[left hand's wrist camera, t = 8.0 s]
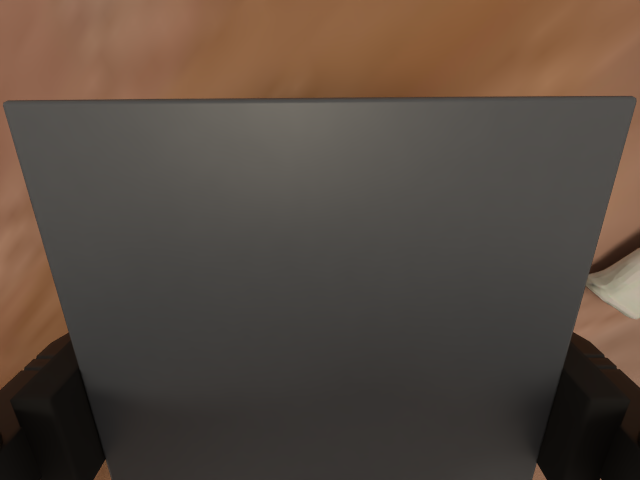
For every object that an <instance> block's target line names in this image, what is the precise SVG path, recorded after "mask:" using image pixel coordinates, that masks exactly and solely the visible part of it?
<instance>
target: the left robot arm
mask: <svg viewBox="0 0 640 480" xmlns="http://www.w3.org/2000/svg"><path fill="white" fill-rule="evenodd" d="M616 367H617V366H616V365H614V364H613V363H612V362H611V361H610V360H609V359H608V358H605V357H604V354H603V353H601V352H600V351H599V350H598V349H597V348H596V347H595V346H594V345H593V344H592V343H591V342H589V341H588V340H586V339H584V338H582V337H581V336H579V335H577V334H576V333H574V332H573V333H572V337H571V340H570V344H569V347H568V351H567V355H566V358H565V362H564V366H563V369H562V373H561V376H560V380H559V384H558V387H557V391H556V395H555V398H554V402H553V405H552V409H551V413H550V416H549V420H548V424H547V427H546V431H545V434H544V438H543V441H542V445H541V449H540V452H539V456H538V459H537V464H538V465H539V467H540V469H541V471H542V472H543V474H544V476H545V477H546V479H547V480H600V478H601V479H602V480H640V388H639V387H638V386H637V385H636V384H635V383H634V382H633V381H632V380H631V379H630V378H629V377H627V376H626V375H625V374H624V373H623V372H622V371H621V370H620V369H617V368H616ZM105 459H106V458H105V455H104V452H103V448H102V445H101V441H100V438H99V434H98V431H97V427H96V424H95V421H94V417H93V414H92V410H91V407H90V403H89V400H88V396H87V393H86V390H85V386H84V383H83V379H82V376H81V372H80V369H79V365H78V362H77V359H76V355H75V352H74V348H73V345H72V341H71V338H70V334H69V333H67V334H66V335H64V336H62V337H60V338H59V339H57V340H55V341H54V342H52V343H50V344H49V345H48V346H47V347H46V348H45V349H44V350H43V351H42V352H41V353H40V354H39V355H38V356H37V358H36V359H33V360H32V361H31V362H30V363H29V364H28V365H27V366H26V367H25V368H24V371H20V372H19V373H18V374H17V375H16V376H15V377H14V378H13V379H12V380H11V381H10V382H8V383H7V384H6V385H5V386H4V387H3V388H2V389H1V390H0V480H40V479H41V480H94V478H95V476H96V474H97V473H98V471H99V469H100V468H101V466H102V464H103V463H104V461H105Z"/></svg>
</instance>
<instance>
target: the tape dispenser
mask: <svg viewBox="0 0 640 480" xmlns="http://www.w3.org/2000/svg"><path fill="white" fill-rule="evenodd" d="M586 287H588V288H589V289H590V290H591V291H592V292H593V293H595V294H596V295H597V296H598V297H599V298H601V299H602V300H603V301H604V302H606V303H607V304H609V305H611V306H613V307H614V308H616V309H617V310H618V311H620V312H621V313H622V314H624V315H625V316H627V317H629V318H632V319H638V318H640V248H638V249H636V250H635V251H633V252H632V253H630V254H629V255H627V256H626V257H624V258H623V259H621V260H619V261H618V262H616V263H615V264H613V265H612V266H610V267H608V268H606V269H605V270H602V271H599V272H596V273H592V274H589V275H588V279H587V282H586Z"/></svg>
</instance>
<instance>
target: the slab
mask: <svg viewBox="0 0 640 480" xmlns="http://www.w3.org/2000/svg"><path fill="white" fill-rule="evenodd" d="M635 105H636V98H635V97H633V96H528V97H372V98H235V99H115V100H15V101H6V102H4V103H3V107H4V110H5V114H6V117H7V121H8V124H9V128H10V131H11V135H12V138H13V141H14V145H15V148H16V152H17V155H18V159H19V162H20V166H21V169H22V172H23V176H24V179H25V183H26V186H27V190H28V193H29V197H30V200H31V203H32V207H33V210H34V214H35V217H36V221H37V224H38V228H39V231H40V234H41V238H42V241H43V245H44V248H45V252H46V255H47V259H48V262H49V265H50V269H51V272H52V276H53V279H54V283H55V286H56V290H57V293H58V296H59V300H60V303H61V307H62V310H63V314H64V317H65V321H66V324H67V327H68V331H69V334H70V338H71V341H72V345H73V348H74V352H75V355H76V359H77V362H78V365H79V369H80V372H81V376H82V379H83V383H84V386H85V390H86V393H87V396H88V400H89V403H90V407H91V410H92V414H93V417H94V421H95V424H96V427H97V431H98V434H99V438H100V441H101V445H102V448H103V452H104V455H105V458H106V462H107V465H108V469H109V472H110V476H111V479H112V480H532V478H533V474H534V471H535V467H536V463H537V459H538V456H539V452H540V449H541V445H542V441H543V438H544V434H545V431H546V427H547V424H548V420H549V416H550V413H551V409H552V405H553V402H554V398H555V395H556V391H557V387H558V384H559V380H560V376H561V373H562V369H563V366H564V362H565V358H566V355H567V351H568V347H569V344H570V340H571V337H572V333H573V329H574V326H575V322H576V318H577V315H578V311H579V308H580V304H581V300H582V297H583V293H584V289H585V286H586V282H587V279H588V275H589V271H590V268H591V264H592V261H593V257H594V253H595V250H596V246H597V242H598V239H599V235H600V232H601V228H602V224H603V221H604V217H605V213H606V210H607V206H608V203H609V199H610V195H611V192H612V188H613V184H614V181H615V177H616V174H617V170H618V166H619V163H620V159H621V155H622V152H623V148H624V145H625V141H626V137H627V134H628V130H629V126H630V123H631V119H632V116H633V112H634V108H635Z"/></svg>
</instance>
